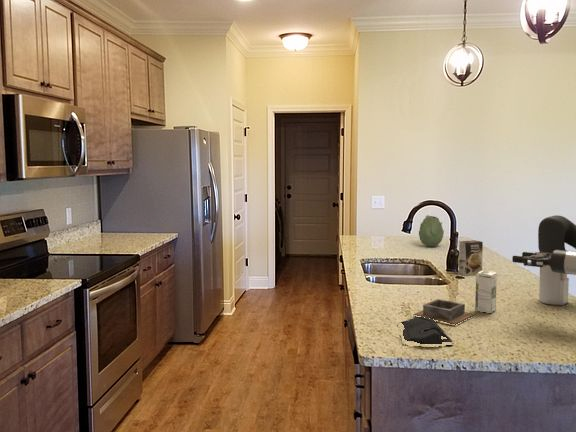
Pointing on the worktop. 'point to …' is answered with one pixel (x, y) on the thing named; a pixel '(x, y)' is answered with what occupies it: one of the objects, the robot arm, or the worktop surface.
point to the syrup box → (486, 291)
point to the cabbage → (431, 231)
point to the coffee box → (470, 257)
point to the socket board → (445, 311)
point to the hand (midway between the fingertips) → (517, 256)
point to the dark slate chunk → (423, 331)
